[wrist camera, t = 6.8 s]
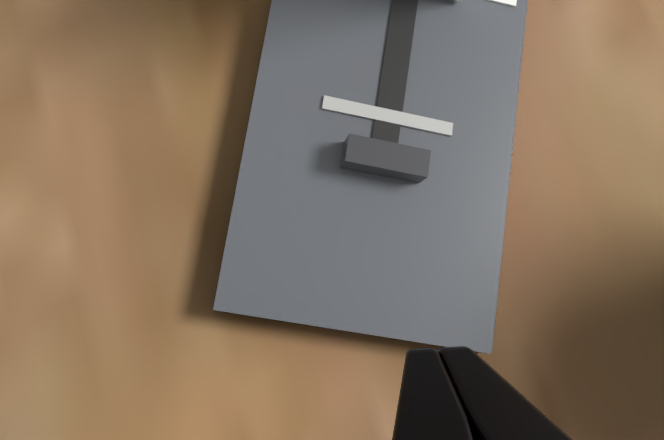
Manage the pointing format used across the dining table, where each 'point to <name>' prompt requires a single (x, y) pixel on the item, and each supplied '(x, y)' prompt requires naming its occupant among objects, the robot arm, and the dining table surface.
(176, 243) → the dining table surface
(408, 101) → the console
